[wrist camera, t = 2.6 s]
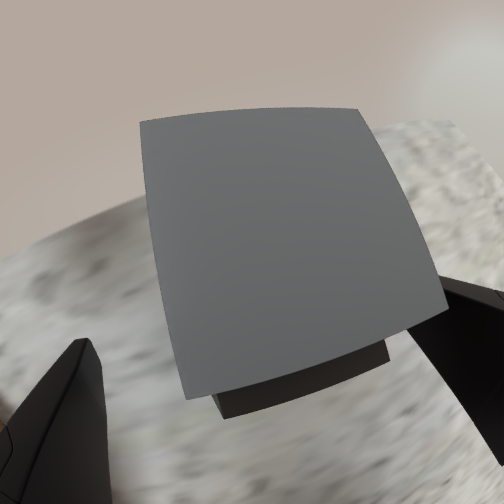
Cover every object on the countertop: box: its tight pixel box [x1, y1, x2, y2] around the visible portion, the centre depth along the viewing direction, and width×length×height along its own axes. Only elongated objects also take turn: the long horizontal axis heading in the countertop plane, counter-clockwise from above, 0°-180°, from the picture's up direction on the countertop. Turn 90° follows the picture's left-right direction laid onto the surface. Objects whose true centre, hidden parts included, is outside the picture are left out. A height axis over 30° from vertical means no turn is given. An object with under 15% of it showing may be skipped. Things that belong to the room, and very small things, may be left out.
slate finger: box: [140, 108, 449, 419], centre depth 10 cm, size 5×4×13 cm
